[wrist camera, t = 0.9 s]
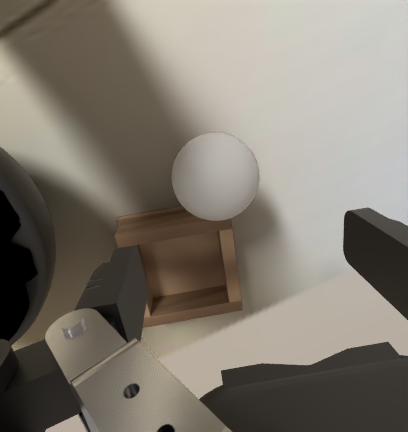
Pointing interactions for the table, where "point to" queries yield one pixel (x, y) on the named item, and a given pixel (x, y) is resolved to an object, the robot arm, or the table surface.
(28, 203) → the coal bowl
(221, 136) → the lightbulb
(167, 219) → the wooden tray
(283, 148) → the table surface
